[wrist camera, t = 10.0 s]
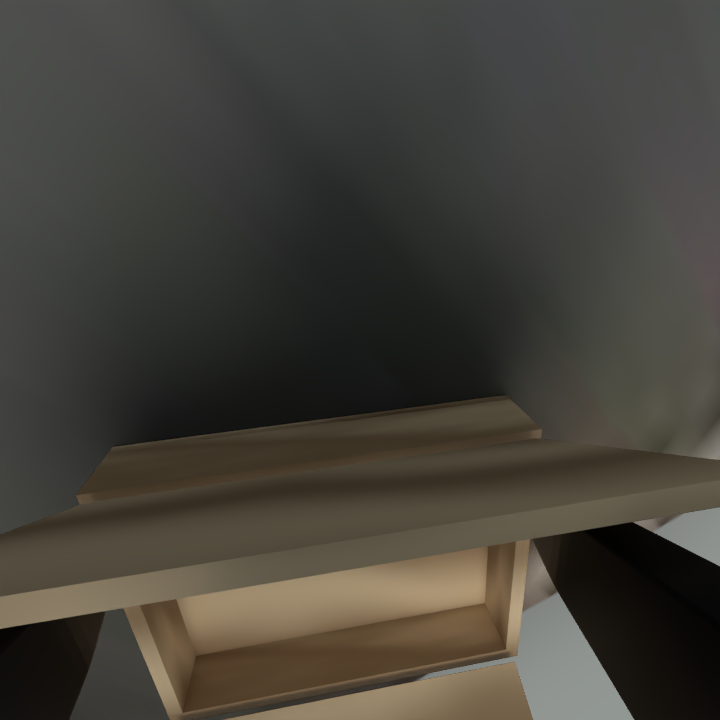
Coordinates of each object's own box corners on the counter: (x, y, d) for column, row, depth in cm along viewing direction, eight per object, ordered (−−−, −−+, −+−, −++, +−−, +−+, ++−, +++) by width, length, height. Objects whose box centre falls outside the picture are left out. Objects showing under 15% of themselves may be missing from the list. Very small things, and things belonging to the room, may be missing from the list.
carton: (491, 602, 22) (517, 655, 19) (188, 657, 20) (171, 723, 18) (506, 394, 17) (542, 429, 15) (112, 446, 16) (75, 495, 13)
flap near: (795, 494, 6) (789, 468, 7) (-296, 678, 5) (-294, 643, 5) (538, 449, 14) (536, 438, 14) (85, 515, 13) (85, 502, 13)
